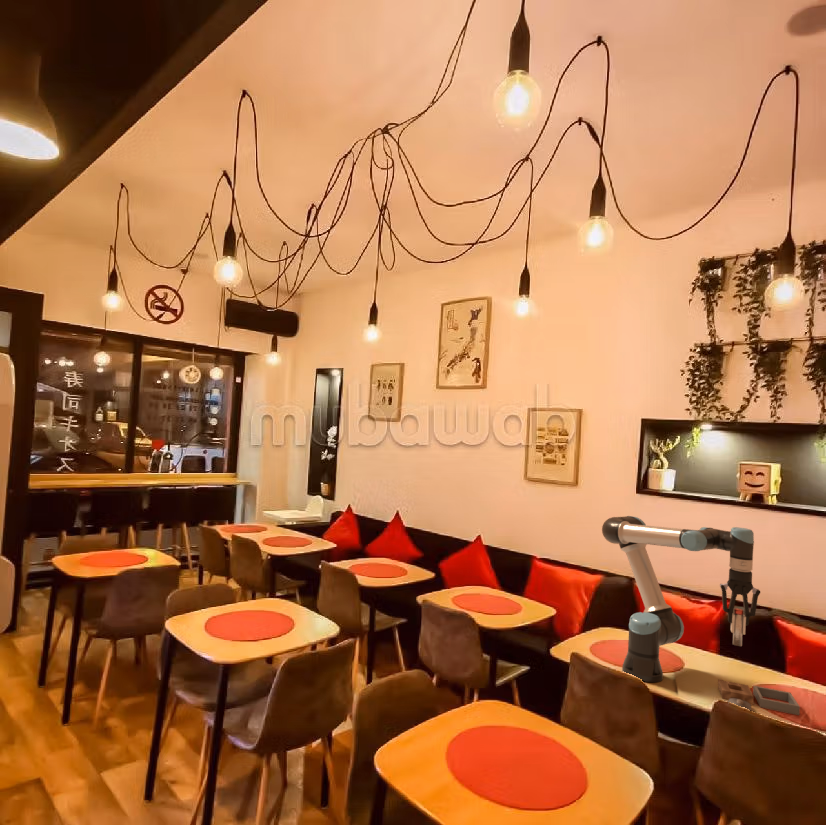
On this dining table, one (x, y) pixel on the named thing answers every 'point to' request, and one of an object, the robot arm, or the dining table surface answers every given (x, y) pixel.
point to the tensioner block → (736, 693)
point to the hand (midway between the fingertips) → (737, 632)
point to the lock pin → (738, 627)
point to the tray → (788, 707)
